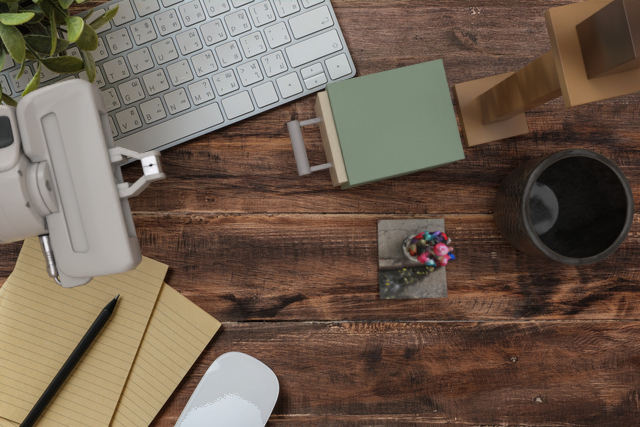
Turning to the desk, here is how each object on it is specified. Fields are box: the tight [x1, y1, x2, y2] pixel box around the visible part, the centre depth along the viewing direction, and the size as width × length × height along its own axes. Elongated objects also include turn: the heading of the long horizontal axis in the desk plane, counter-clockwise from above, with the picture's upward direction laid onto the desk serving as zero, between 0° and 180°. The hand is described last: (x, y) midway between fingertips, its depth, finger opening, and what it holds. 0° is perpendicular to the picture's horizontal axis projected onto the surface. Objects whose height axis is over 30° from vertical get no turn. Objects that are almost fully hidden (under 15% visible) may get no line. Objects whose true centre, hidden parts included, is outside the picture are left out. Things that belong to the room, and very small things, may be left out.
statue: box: [376, 218, 456, 300], centre depth 61 cm, size 11×9×15 cm
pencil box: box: [576, 0, 640, 80], centre depth 40 cm, size 5×5×6 cm
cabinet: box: [324, 58, 466, 191], centre depth 63 cm, size 15×13×10 cm
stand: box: [451, 0, 640, 148], centre depth 56 cm, size 9×9×26 cm
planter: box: [492, 148, 635, 267], centre depth 63 cm, size 14×14×13 cm
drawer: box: [286, 90, 348, 188], centre depth 63 cm, size 18×11×8 cm, turn 103°
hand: (162, 164), depth 50 cm, fingers closed
